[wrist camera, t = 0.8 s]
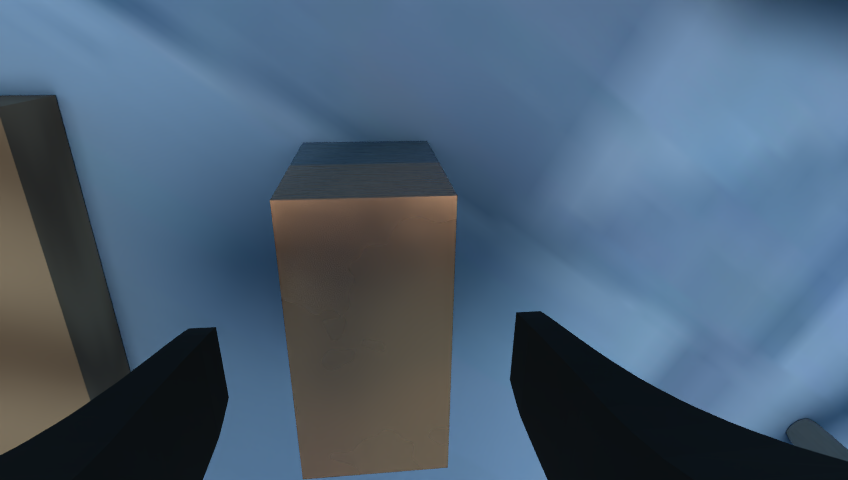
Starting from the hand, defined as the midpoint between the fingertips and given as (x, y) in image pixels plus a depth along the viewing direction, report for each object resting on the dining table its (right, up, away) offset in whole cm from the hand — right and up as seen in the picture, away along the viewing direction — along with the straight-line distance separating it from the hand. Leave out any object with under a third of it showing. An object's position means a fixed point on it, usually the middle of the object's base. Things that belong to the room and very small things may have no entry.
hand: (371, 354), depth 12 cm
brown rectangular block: (-1, +2, +6) cm, 6 cm away
